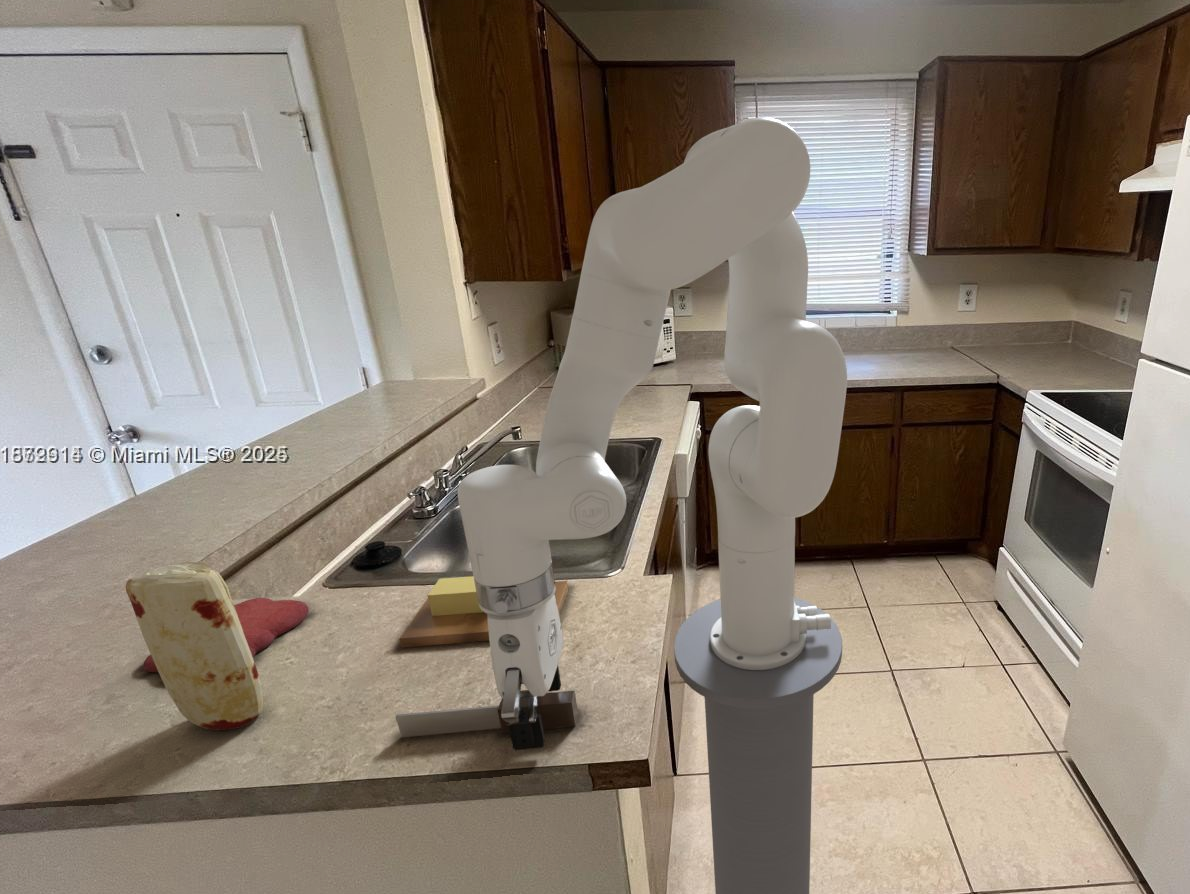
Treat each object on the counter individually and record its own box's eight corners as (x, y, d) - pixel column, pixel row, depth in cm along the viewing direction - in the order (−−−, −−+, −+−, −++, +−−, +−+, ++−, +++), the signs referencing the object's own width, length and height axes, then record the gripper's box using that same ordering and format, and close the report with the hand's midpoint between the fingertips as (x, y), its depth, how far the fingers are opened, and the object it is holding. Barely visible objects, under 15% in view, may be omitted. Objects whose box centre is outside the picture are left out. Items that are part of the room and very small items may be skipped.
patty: (224, 685, 76) (219, 672, 75) (120, 681, 77) (114, 668, 76) (328, 604, 92) (324, 593, 92) (241, 602, 93) (237, 590, 92)
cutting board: (569, 588, 96) (567, 580, 95) (553, 635, 85) (551, 626, 84) (435, 598, 94) (433, 589, 93) (400, 647, 82) (398, 638, 82)
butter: (492, 595, 92) (488, 575, 90) (483, 612, 87) (479, 591, 86) (443, 598, 91) (439, 578, 90) (431, 616, 87) (427, 595, 85)
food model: (163, 739, 68) (92, 584, 61) (217, 696, 74) (158, 551, 67) (247, 742, 67) (185, 586, 60) (294, 698, 74) (243, 552, 67)
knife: (578, 713, 71) (574, 690, 70) (575, 726, 69) (571, 702, 68) (405, 729, 69) (399, 705, 68) (398, 743, 67) (391, 719, 66)
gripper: (533, 631, 55) (557, 777, 61) (568, 541, 72) (585, 663, 78) (446, 638, 55) (479, 785, 61) (502, 545, 71) (524, 668, 77)
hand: (538, 716), depth 69 cm, fingers open, 8 cm apart
